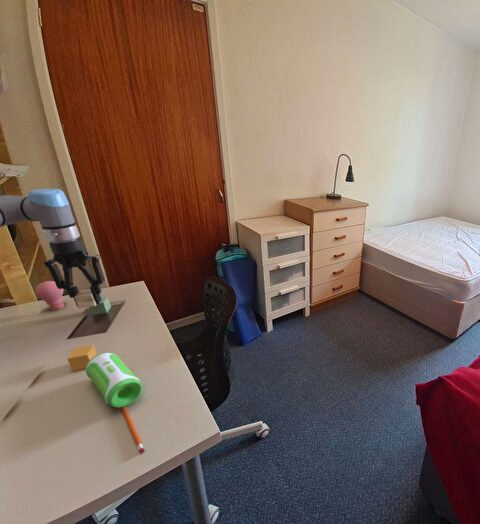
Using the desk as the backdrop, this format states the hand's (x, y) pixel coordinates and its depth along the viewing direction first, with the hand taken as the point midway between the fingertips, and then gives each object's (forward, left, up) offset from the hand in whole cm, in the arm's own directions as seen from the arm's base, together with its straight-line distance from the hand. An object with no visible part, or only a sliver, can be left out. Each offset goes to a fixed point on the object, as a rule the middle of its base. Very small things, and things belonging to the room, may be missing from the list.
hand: (89, 303), depth 97 cm
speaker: (+16, -38, -8) cm, 42 cm away
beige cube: (0, 0, 0) cm, 0 cm away
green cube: (0, +6, -7) cm, 9 cm away
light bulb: (-16, +14, -8) cm, 23 cm away
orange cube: (+5, -24, -8) cm, 26 cm away
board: (0, 0, -8) cm, 8 cm away
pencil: (+22, -51, -8) cm, 56 cm away
